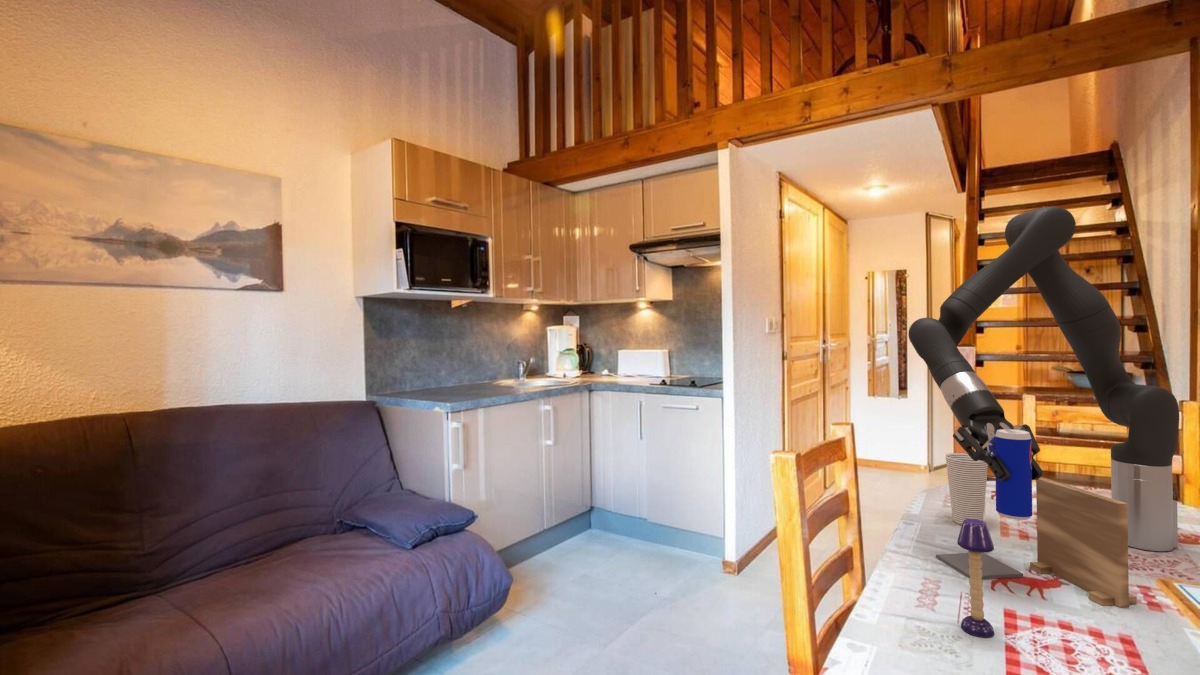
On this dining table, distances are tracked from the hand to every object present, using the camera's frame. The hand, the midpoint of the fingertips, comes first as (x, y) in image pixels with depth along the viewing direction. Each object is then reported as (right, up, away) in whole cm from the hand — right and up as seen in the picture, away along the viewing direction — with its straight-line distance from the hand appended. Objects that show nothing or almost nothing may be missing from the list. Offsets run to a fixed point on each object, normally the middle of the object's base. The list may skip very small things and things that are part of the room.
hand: (1021, 478), depth 96 cm
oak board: (+12, -20, +2) cm, 23 cm away
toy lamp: (-15, -21, -11) cm, 28 cm away
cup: (+14, -19, +35) cm, 42 cm away
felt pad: (0, -20, +11) cm, 23 cm away
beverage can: (0, -7, +2) cm, 8 cm away
